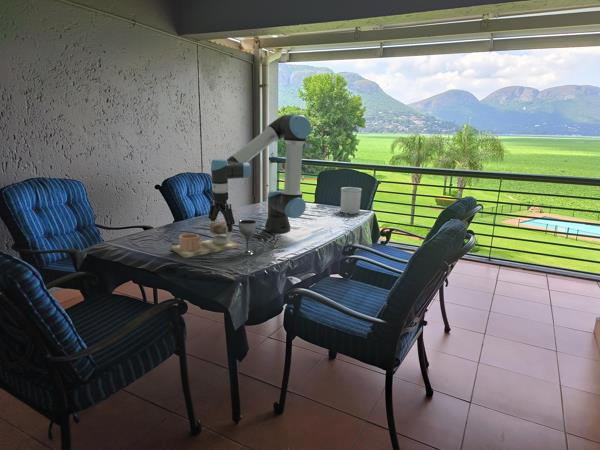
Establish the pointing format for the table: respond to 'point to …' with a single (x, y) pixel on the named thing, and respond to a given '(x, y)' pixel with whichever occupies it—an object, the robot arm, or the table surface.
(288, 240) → the table surface
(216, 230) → the lid
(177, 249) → the serving board
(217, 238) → the light grey domed disc
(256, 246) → the table surface
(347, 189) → the utensil holder
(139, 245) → the table surface
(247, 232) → the wine glass
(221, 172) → the robot arm
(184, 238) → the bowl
